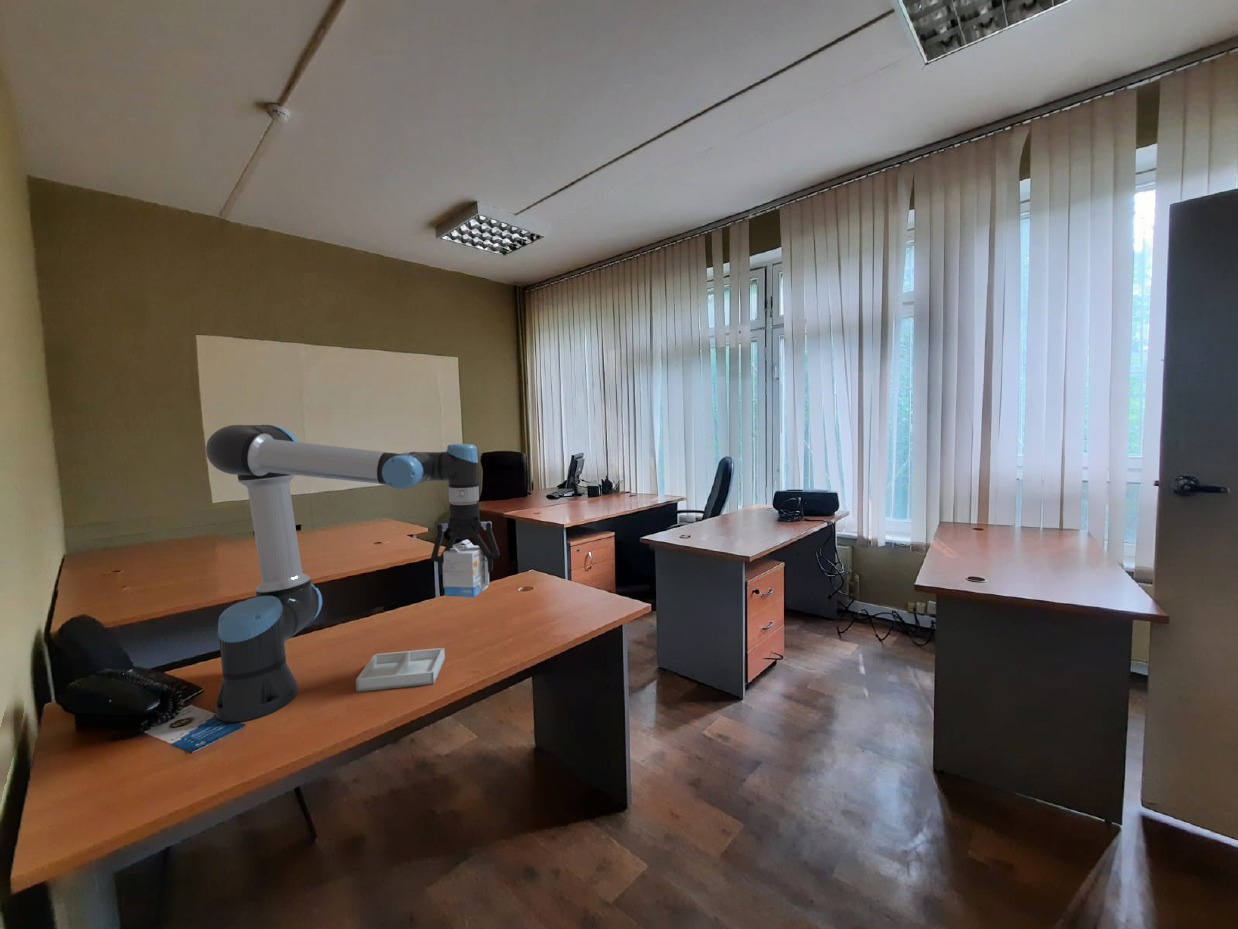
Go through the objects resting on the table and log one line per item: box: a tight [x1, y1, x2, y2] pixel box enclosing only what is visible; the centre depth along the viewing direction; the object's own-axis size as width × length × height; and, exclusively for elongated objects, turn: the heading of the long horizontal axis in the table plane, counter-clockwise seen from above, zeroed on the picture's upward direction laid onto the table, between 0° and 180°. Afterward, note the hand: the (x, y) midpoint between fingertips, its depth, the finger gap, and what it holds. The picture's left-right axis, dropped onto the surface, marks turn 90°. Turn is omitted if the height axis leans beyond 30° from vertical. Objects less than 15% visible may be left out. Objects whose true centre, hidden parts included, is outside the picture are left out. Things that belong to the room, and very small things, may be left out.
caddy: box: [355, 647, 446, 693], centre depth 122 cm, size 18×13×3 cm
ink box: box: [443, 538, 489, 598], centre depth 126 cm, size 9×8×13 cm
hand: (466, 585), depth 126 cm, fingers closed on ink box, 10 cm apart
